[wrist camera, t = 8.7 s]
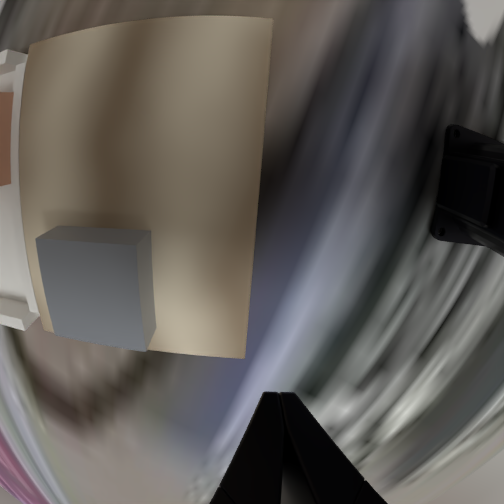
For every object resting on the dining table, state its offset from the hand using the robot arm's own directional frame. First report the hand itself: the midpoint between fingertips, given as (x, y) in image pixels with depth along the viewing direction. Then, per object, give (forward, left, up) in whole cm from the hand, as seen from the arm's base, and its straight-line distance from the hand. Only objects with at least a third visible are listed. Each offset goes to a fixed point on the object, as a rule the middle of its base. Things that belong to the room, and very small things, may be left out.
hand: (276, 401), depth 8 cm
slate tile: (+8, 0, -7) cm, 10 cm away
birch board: (+7, -4, -9) cm, 12 cm away
